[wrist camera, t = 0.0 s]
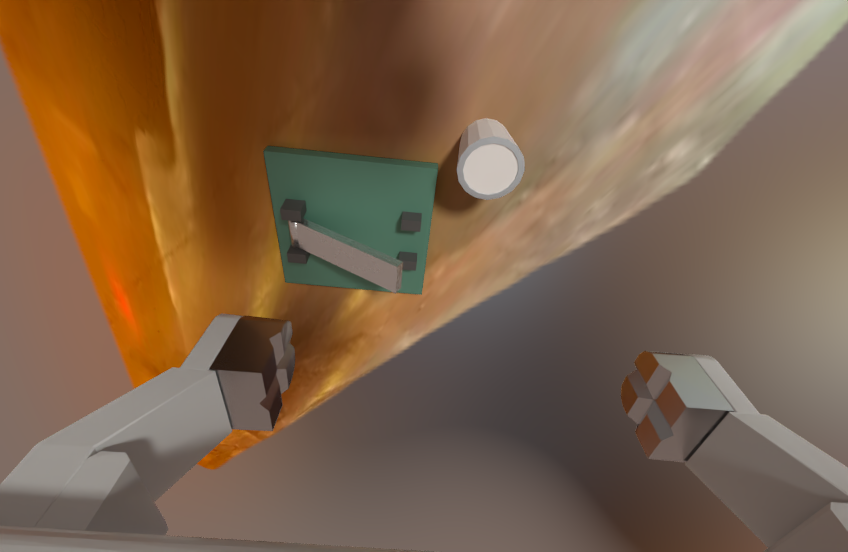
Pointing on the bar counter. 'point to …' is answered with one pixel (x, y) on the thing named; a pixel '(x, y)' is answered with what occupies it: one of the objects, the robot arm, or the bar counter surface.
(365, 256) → the steel strap
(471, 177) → the white cylinder
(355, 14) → the bar counter surface
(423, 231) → the board
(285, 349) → the robot arm
